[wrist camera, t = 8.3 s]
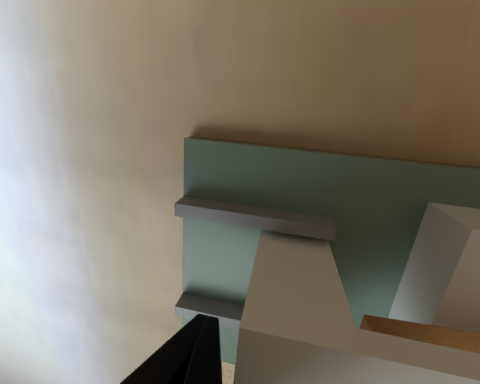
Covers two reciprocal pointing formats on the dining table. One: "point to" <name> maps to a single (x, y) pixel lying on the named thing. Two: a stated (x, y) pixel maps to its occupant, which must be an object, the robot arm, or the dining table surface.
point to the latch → (325, 328)
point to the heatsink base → (331, 230)
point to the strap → (423, 333)
